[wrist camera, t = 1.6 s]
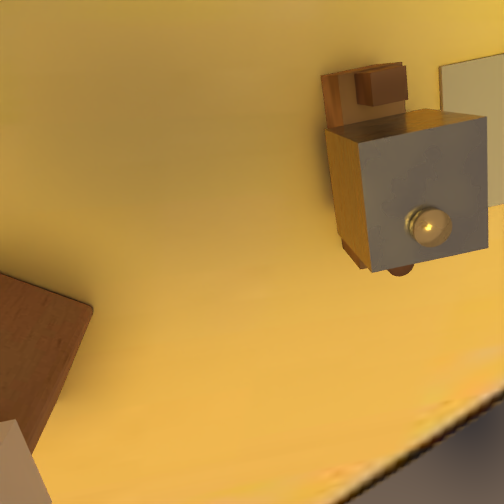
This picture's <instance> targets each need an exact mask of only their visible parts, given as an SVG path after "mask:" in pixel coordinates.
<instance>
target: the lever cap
mask: <svg viewBox="0 0 504 504" xmlns="http://www.w3.org/2000/svg"><path fill="white" fill-rule="evenodd" d="M324 131H325V139H326V147H327V154H328V162H329V169H330V177H331V185H332V192H333V200H334V208H335V215H336V223H337V230H338V234H339V235H340V236H341V237H342V239H343V240H344V241H345V242H346V243H347V244H348V246H349V247H350V248H351V249H352V250H353V251H354V253H355V254H356V255H357V256H358V257H359V258H360V260H361V261H362V262H363V263H364V264H365V265H366V267H367V268H368V269H369V270H370V271H371V272H372V273H373V272H378V271H382V270H387V269H392V268H396V267H401V266H406V265H410V264H415V263H420V262H424V261H429V260H434V259H439V258H443V257H448V256H453V255H457V254H462V253H467V252H471V251H476V250H481V249H485V248H488V164H487V117H486V116H479V115H471V114H463V113H456V112H448V111H440V110H432V109H420V110H415V111H411V112H406V113H401V114H396V115H391V116H386V117H382V118H377V119H372V120H367V121H362V122H357V123H353V124H348V125H343V126H338V127H333V128H328V129H324Z"/></svg>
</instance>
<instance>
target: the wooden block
mask: <svg viewBox="0 0 504 504" xmlns="http://www.w3.org/2000/svg"><path fill="white" fill-rule="evenodd" d="M92 314H93V313H92V308H91V307H90V306H88V305H86V304H83V303H80V302H77V301H75V300H72V299H69V298H66V297H64V296H61V295H58V294H55V293H52V292H50V291H47V290H44V289H41V288H39V287H36V286H33V285H30V284H28V283H25V282H22V281H19V280H16V279H14V278H11V277H8V276H5V275H3V274H0V422H4V421H9V420H14V419H16V421H17V423H18V426H19V428H20V430H21V432H22V435H23V437H24V439H25V442H26V444H27V446H28V448H29V451H30V453H31V455H32V453H33V451H34V449H35V447H36V445H37V442H38V440H39V438H40V436H41V434H42V432H43V430H44V427H45V425H46V423H47V421H48V419H49V417H50V414H51V412H52V410H53V408H54V406H55V404H56V401H57V399H58V397H59V394H60V392H61V389H62V387H63V384H64V382H65V380H66V377H67V375H68V372H69V370H70V367H71V365H72V362H73V360H74V358H75V355H76V353H77V350H78V348H79V345H80V343H81V341H82V338H83V336H84V333H85V331H86V328H87V326H88V324H89V321H90V319H91V316H92Z"/></svg>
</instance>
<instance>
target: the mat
mask: <svg viewBox="0 0 504 504" xmlns="http://www.w3.org/2000/svg"><path fill="white" fill-rule="evenodd" d="M439 82H440V104H441V111H448V112H456V113H463V114H471V115H479V116H486V117H487V164H488V207H491V206H496V205H500V204H504V54H500V55H495V56H490V57H485V58H480V59H475V60H470V61H465V62H461V63H456V64H451V65H446V66H441V67H439Z"/></svg>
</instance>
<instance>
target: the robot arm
mask: <svg viewBox="0 0 504 504" xmlns="http://www.w3.org/2000/svg"><path fill="white" fill-rule="evenodd" d="M51 503H52V501H51V498H50V496H49V494H48V492H47V489H46V487H45V485H44V483H43V480H42V478H41V476H40V473H39V471H38V469H37V467H36V464H35V462H34V460H33V457H32V455H31V453H30V451H29V448H28V446H27V444H26V442H25V439H24V437H23V435H22V432H21V430H20V428H19V426H18V423H17V421H16V419H14V420H9V421H4V422H0V504H51Z"/></svg>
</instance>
